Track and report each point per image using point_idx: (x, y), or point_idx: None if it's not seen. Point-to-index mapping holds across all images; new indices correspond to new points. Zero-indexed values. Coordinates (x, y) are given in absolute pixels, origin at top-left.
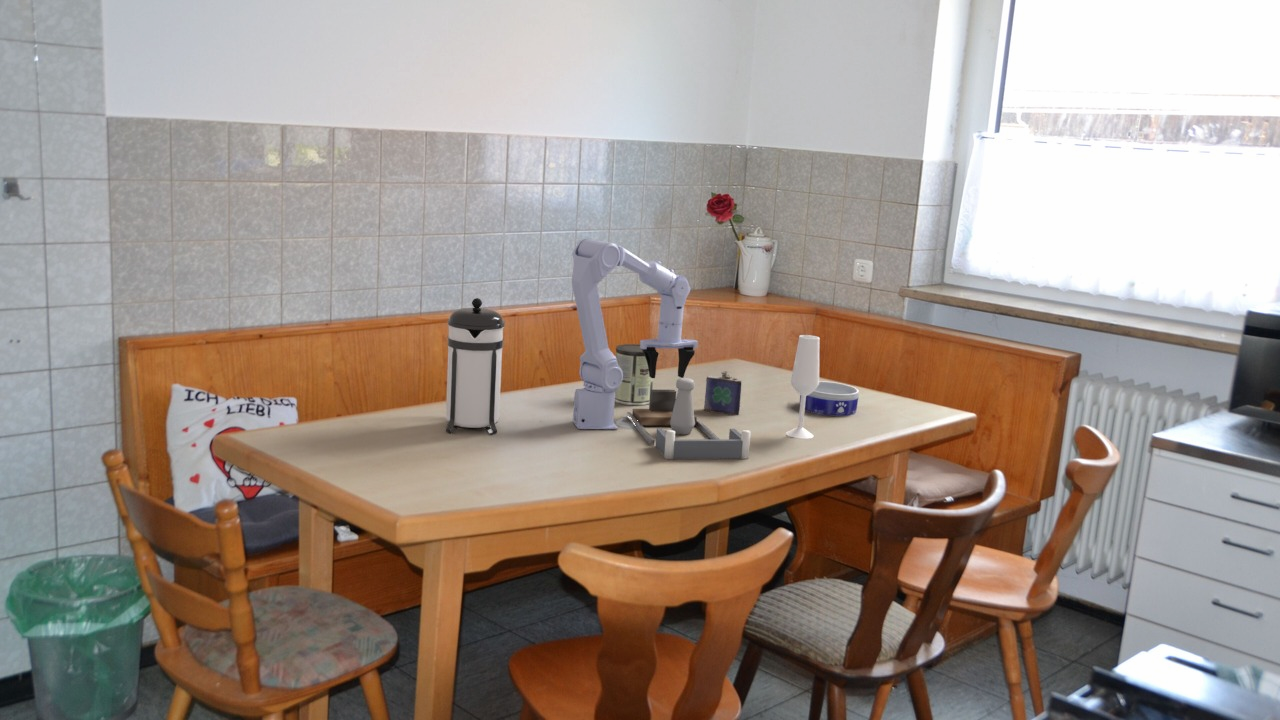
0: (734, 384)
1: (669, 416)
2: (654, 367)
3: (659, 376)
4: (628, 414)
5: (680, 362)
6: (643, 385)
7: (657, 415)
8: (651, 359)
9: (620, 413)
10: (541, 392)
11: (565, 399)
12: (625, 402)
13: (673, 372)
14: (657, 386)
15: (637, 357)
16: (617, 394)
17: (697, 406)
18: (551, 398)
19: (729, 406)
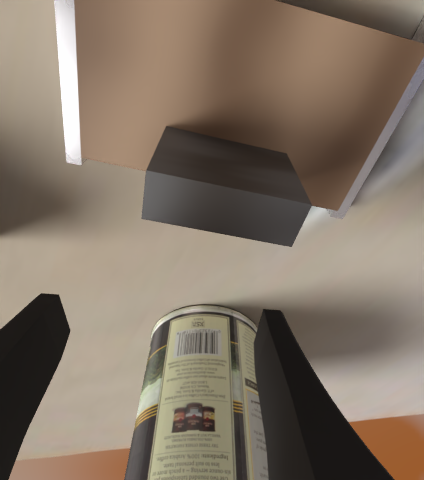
0: None
1: (247, 21)
2: (301, 382)
3: (65, 440)
4: (357, 190)
5: (9, 428)
6: (197, 363)
7: (305, 62)
8: (388, 478)
9: (326, 247)
10: (378, 406)
11: (371, 368)
12: (247, 323)
13: (29, 450)
14: (90, 404)
15: None
16: None
17: (15, 269)
18: (396, 377)
19: None
